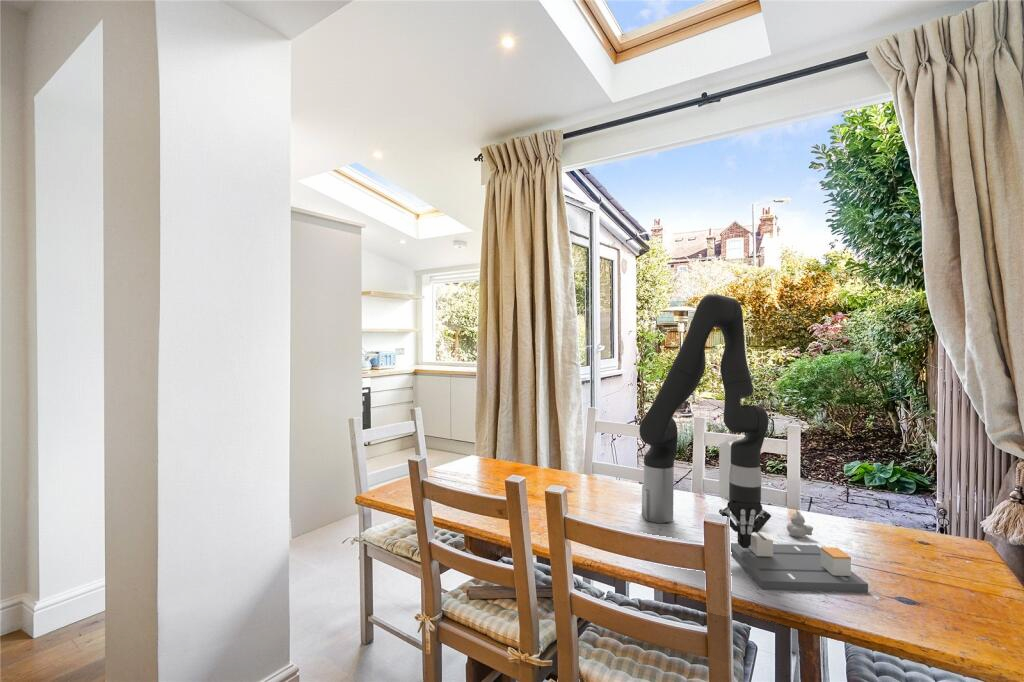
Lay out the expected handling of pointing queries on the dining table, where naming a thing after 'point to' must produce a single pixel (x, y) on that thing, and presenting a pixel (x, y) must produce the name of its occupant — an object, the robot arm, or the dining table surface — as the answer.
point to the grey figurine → (798, 526)
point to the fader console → (794, 570)
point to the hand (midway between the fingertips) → (744, 546)
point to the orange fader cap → (835, 561)
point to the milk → (725, 466)
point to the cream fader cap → (761, 544)
